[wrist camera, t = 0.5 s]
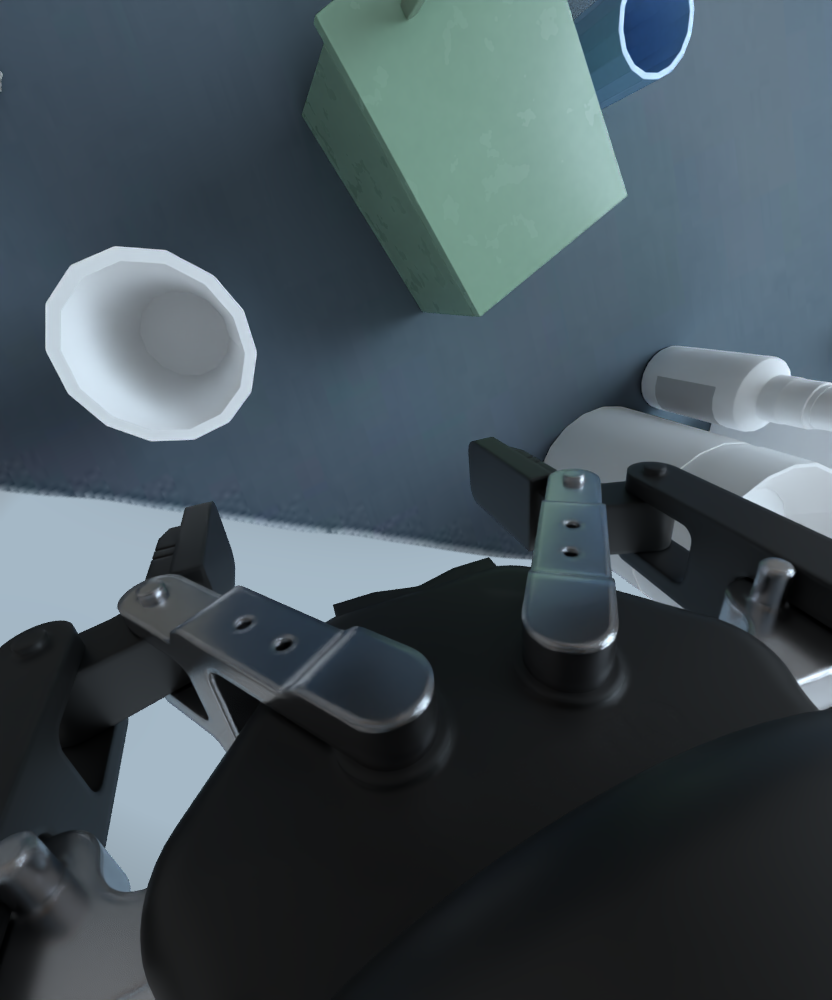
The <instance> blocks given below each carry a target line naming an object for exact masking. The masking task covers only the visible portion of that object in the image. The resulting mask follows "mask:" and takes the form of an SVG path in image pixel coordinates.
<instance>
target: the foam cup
mask: <svg viewBox="0 0 832 1000" xmlns="http://www.w3.org/2000/svg"><path fill="white" fill-rule="evenodd" d="M45 350H46V352H47V354H48V356H49V358H50V360H51V362H52V364H53V366H54V368H55V369H56V371H57V373H58V375H59V377H60V379H61V381H62V383H63V385H64V387H65V389H66V391H67V392H68V394H69V395H70V396H71V397H73V398H74V399H75V400H76V401H77V402H79V403H80V404H81V405H82V406H83V407H85V408H86V409H87V410H88V411H89V412H91V413H92V414H93V415H94V416H95V417H97V418H98V419H99V420H100V421H101V422H103V423H104V424H105V425H106V426H108V427H111V428H114V429H117V430H120V431H123V432H126V433H129V434H132V435H134V436H137V437H140V438H143V439H146V440H149V441H171V440H194V439H196V438H198V437H200V436H202V435H204V434H206V433H208V432H210V431H212V430H214V429H216V428H218V427H220V426H222V425H224V424H226V423H228V422H230V420H231V419H232V418H233V416H234V415H235V414H236V412H237V411H238V409H239V408H240V407H241V405H242V404H243V403H244V401H245V400H246V399H247V397H248V396H249V395H250V393H251V391H252V384H253V377H254V370H255V363H256V356H257V351H256V347H255V344H254V341H253V338H252V335H251V332H250V328H249V325H248V322H247V319H246V316H245V313H244V310H243V309H242V308H241V307H240V305H239V304H238V303H237V302H236V301H235V300H234V298H233V297H232V296H231V295H230V294H229V293H228V291H227V290H226V289H225V288H224V287H223V285H222V284H221V283H220V282H219V281H218V280H217V278H216V277H215V276H213V275H212V274H210V273H208V272H206V271H204V270H203V269H201V268H199V267H197V266H195V265H193V264H191V263H189V262H187V261H186V260H184V259H182V258H180V257H178V256H176V255H174V254H172V253H170V252H168V251H167V250H158V249H145V248H132V247H119V246H114V247H111V248H109V249H107V250H104V251H102V252H100V253H98V254H95V255H93V256H91V257H88V258H86V259H84V260H82V261H79V262H77V263H75V264H72V265H70V267H69V268H68V270H67V271H66V273H65V274H64V276H63V277H62V279H61V281H60V282H59V284H58V285H57V287H56V288H55V290H54V291H53V293H52V294H51V296H50V297H49V299H48V300H47V302H46V341H45Z"/></svg>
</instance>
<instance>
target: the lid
mask: <svg viewBox="0 0 832 1000" xmlns="http://www.w3.org/2000/svg"><path fill="white" fill-rule="evenodd" d="M314 26H315V27H316V29H317V31H318V33H319V35H320V36H321V38H322V40H323V42H324V44H325V45H326V47H327V49H328V51H329V53H330V55H331V56H332V58H333V60H334V62H335V64H336V65H337V67H338V69H339V71H340V73H341V74H342V76H343V78H344V80H345V82H346V84H347V85H348V87H349V89H350V91H351V93H352V94H353V96H354V98H355V100H356V102H357V104H358V105H359V107H360V109H361V111H362V113H363V114H364V116H365V118H366V120H367V122H368V123H369V125H370V127H371V129H372V131H373V133H374V134H375V136H376V138H377V140H378V142H379V143H380V145H381V147H382V149H383V151H384V152H385V154H386V156H387V158H388V160H389V162H390V163H391V165H392V167H393V169H394V171H395V172H396V174H397V176H398V178H399V180H400V181H401V183H402V185H403V187H404V189H405V191H406V192H407V194H408V196H409V198H410V200H411V201H412V203H413V205H414V207H415V209H416V211H417V212H418V214H419V216H420V218H421V220H422V221H423V223H424V225H425V227H426V229H427V230H428V232H429V234H430V236H431V238H432V240H433V241H434V243H435V245H436V247H437V249H438V250H439V252H440V254H441V256H442V258H443V259H444V261H445V263H446V265H447V267H448V269H449V270H450V272H451V274H452V276H453V278H454V279H455V281H456V283H457V285H458V287H459V289H460V290H461V292H462V294H463V296H464V298H465V299H466V301H467V303H468V305H469V307H470V308H471V310H472V312H473V314H474V316H476V317H481V316H482V315H483V314H484V313H485V312H487V311H488V310H489V309H490V308H492V307H493V306H494V305H495V304H496V303H498V302H499V301H500V300H501V299H502V298H504V297H505V296H506V295H507V294H509V293H510V292H511V291H512V290H513V289H515V288H516V287H517V286H518V285H520V284H521V283H522V282H523V281H524V280H526V279H527V278H528V277H529V276H531V275H532V274H533V273H534V272H535V271H537V270H538V269H539V268H540V267H541V266H543V265H544V264H545V263H546V262H548V261H549V260H550V259H551V258H552V257H554V256H555V255H556V254H557V253H559V252H560V251H561V250H562V249H563V248H565V247H566V246H567V245H568V244H569V243H571V242H572V241H573V240H574V239H576V238H577V237H578V236H579V235H580V234H582V233H583V232H584V231H585V230H587V229H588V228H589V227H590V226H591V225H593V224H594V223H595V222H596V221H597V220H599V219H600V218H601V217H602V216H604V215H605V214H606V213H607V212H608V211H610V210H611V209H612V208H613V207H615V206H616V205H617V204H618V203H619V202H621V201H622V200H623V199H624V198H625V197H627V192H626V189H625V186H624V183H623V179H622V176H621V173H620V170H619V167H618V163H617V160H616V157H615V154H614V150H613V147H612V144H611V141H610V137H609V134H608V131H607V128H606V125H605V121H604V118H603V115H602V112H601V108H600V105H599V102H598V99H597V95H596V92H595V89H594V86H593V83H592V79H591V76H590V73H589V70H588V66H587V63H586V60H585V57H584V53H583V50H582V47H581V44H580V41H579V37H578V34H577V31H576V28H575V24H574V21H573V18H572V15H571V11H570V8H569V5H568V2H567V0H333V1H332V2H331V3H329V4H328V5H327V6H326V7H324V8H323V9H322V10H321V11H320V12H318V13H317V14H316V15H315V19H314Z"/></svg>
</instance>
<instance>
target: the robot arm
mask: <svg viewBox="0 0 832 1000" xmlns="http://www.w3.org/2000/svg"><path fill="white" fill-rule="evenodd" d="M468 450H469V468H470V485H471V491H472V495H473V497H474V499H475V501H476V502H477V504H478V505H480V506H481V507H482V508H483V509H484V510H485V511H486V512H487V513H488V514H489V515H490V516H491V517H492V518H494V519H495V520H496V521H497V522H498V523H499V524H500V525H501V526H502V527H503V528H504V529H505V530H507V531H508V532H509V533H510V534H511V535H512V536H513V537H514V538H515V539H516V540H517V541H518V542H519V543H521V544H522V545H523V546H524V547H525V548H526V549H527V550H528V551H529V552H530V551H533V550H534V552H533V559H532V565H531V567H526V566H513V565H512V566H511V565H509V566H496V565H495V564H494V563H493V562H492V560H491V559H490V558H489V557H488V558H485V559H482V560H479V561H475V562H472V563H469V564H465V565H462V566H459V567H456V568H453V569H451V570H449V571H447V572H445V573H443V574H441V575H439V576H438V577H435V578H434V579H431V580H430V581H428V582H426V583H424V584H422V585H420V586H416V587H411V588H403V589H395V590H388V591H380V592H374V593H370V594H367V595H364V596H361V597H357V598H354V599H351V600H347V601H344V602H341V603H337V604H334V605H333V607H334V611H335V615H336V617H334V618H332V619H330V620H329V621H327V622H322V621H320V620H318V619H316V618H313V617H311V616H309V615H306V614H304V613H302V612H300V611H297V610H295V609H293V608H291V607H288V606H286V605H284V604H282V603H279V602H277V601H275V600H272V599H270V598H268V597H266V596H263V595H261V594H259V593H257V592H254V591H252V590H250V589H248V588H245V587H243V586H235V562H234V558H233V553H232V550H231V547H230V544H229V541H228V538H227V535H226V532H225V530H224V527H223V524H222V521H221V518H220V516H219V513H218V510H217V508H216V505H215V503H214V502H213V501H212V502H207V503H203V504H199V505H194V506H190V507H186V508H185V510H184V514H183V518H182V522H181V526H178V527H174V528H170V529H169V530H168V531H167V532H166V533H165V534H164V535H163V536H162V537H161V538H159V540H158V543H157V546H156V549H155V551H156V552H154V555H153V560H152V561H151V564H150V567H149V570H148V573H147V576H146V580H145V581H143V582H141V583H140V584H137V585H136V586H134V587H133V588H131V589H130V590H129V591H127V592H126V593H125V594H124V595H123V596H122V597H121V599H120V600H119V602H118V610H119V612H120V614H119V615H117V616H115V617H113V618H112V619H110V620H108V621H105V622H103V623H101V624H99V625H97V626H94V627H92V628H90V629H88V630H86V631H83V632H81V633H79V634H78V633H77V631H76V630H75V628H74V626H73V625H72V623H70V622H67V621H52V622H48V623H44V624H41V625H38V626H35V627H33V628H30V629H28V630H26V631H24V632H22V633H20V634H19V635H17V636H15V637H14V638H12V639H11V640H9V641H8V642H6V643H5V644H4V645H2V646H1V647H0V1000H832V539H831V538H829V537H827V536H825V535H823V534H820V533H818V532H816V531H814V530H812V529H810V528H808V527H805V526H803V525H801V524H799V523H797V522H795V521H792V520H790V519H788V518H786V517H784V516H782V515H779V514H777V513H775V512H773V511H771V510H769V509H766V508H764V507H762V506H760V505H758V504H756V503H753V502H751V501H749V500H747V499H745V498H743V497H741V496H738V495H736V494H734V493H732V492H730V491H728V490H725V489H723V488H721V487H719V486H717V485H715V484H712V483H710V482H708V481H706V480H704V479H702V478H699V477H697V476H695V475H693V474H691V473H689V472H686V471H684V470H682V469H680V468H678V467H676V466H673V465H670V464H667V463H661V462H639V463H635V464H632V465H630V466H629V467H628V468H627V474H626V481H622V482H611V483H601V481H600V477H599V476H598V475H597V474H595V473H593V472H591V471H587V470H583V469H563V470H556V469H554V468H553V467H551V466H549V465H547V464H546V463H544V462H541V461H540V460H539V459H537V458H536V457H533V456H532V455H530V454H529V453H527V452H525V451H524V450H520V449H516V448H512V447H509V446H507V445H505V444H504V443H502V442H501V441H499V440H497V439H496V438H494V437H489V438H484V439H480V440H476V441H472V442H470V444H469V449H468ZM675 520H676V521H678V522H679V523H681V524H682V525H684V526H685V527H686V528H687V530H688V531H689V533H690V536H691V546H690V551H689V550H687V549H686V548H684V547H683V546H681V545H679V544H678V543H676V542H675V541H673V540H672V534H673V528H674V522H675ZM615 554H618V555H619V556H620V558H621V559H622V560H624V561H625V562H626V563H627V564H629V565H630V566H631V567H632V568H634V569H635V570H636V571H637V572H639V573H640V574H641V575H642V576H644V577H645V578H646V579H647V580H649V581H650V582H651V583H652V584H654V585H655V586H656V587H657V588H659V589H660V590H661V591H662V592H664V593H665V594H666V595H667V596H669V597H670V598H671V599H672V600H674V601H675V602H676V603H677V604H679V605H680V606H681V607H682V608H684V609H682V608H678V607H674V606H671V605H667V604H664V603H660V602H656V601H653V600H649V599H646V598H642V597H638V596H635V595H631V594H628V593H624V592H620V591H617V590H616V587H615V580H614V579H613V578H612V574H611V573H612V572H611V561H610V555H615ZM164 697H165V698H166V700H167V701H168V702H169V703H171V704H172V705H173V706H175V707H176V708H177V709H178V710H180V711H181V712H182V713H184V714H185V715H186V716H188V717H189V718H190V719H191V720H193V721H194V722H196V723H197V724H198V725H199V726H201V727H202V728H203V729H205V730H206V731H207V732H208V733H210V734H211V735H212V736H213V737H214V738H215V739H216V740H217V741H218V742H219V743H220V744H221V746H222V747H223V748H224V750H225V751H226V754H225V755H224V757H223V758H222V760H221V762H220V763H219V764H218V766H217V767H216V769H215V770H214V772H213V773H212V775H211V776H210V778H209V779H208V780H207V782H206V783H205V785H204V786H203V788H202V789H201V791H200V792H199V794H198V795H197V797H196V798H195V800H194V801H193V803H192V804H191V806H190V807H189V808H188V810H187V812H186V813H185V814H184V816H183V817H182V819H181V820H180V822H179V823H178V825H177V826H176V828H175V829H174V831H173V833H172V834H171V836H170V838H169V839H168V841H167V842H166V844H165V845H164V848H163V850H162V852H161V854H160V856H159V858H158V860H157V862H156V864H155V867H154V870H153V872H152V875H151V878H150V881H149V883H148V887H147V888H146V889H143V890H139V891H135V892H131V891H130V883H129V880H128V878H127V876H126V874H125V873H124V872H123V870H122V869H121V868H120V867H119V865H118V864H117V863H116V862H115V860H114V859H113V858H112V857H111V855H110V854H109V853H108V852H107V850H106V849H105V846H106V841H107V835H108V830H109V825H110V819H111V813H112V808H113V803H114V797H115V792H116V786H117V781H118V775H119V770H120V764H121V759H122V753H123V748H124V743H125V737H126V732H127V726H128V717H130V716H131V715H133V714H135V713H137V712H139V711H140V710H142V709H144V708H146V707H147V706H149V705H151V704H153V703H155V702H156V701H158V700H160V699H162V698H164Z"/></svg>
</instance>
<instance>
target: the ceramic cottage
mask: <svg viewBox="0 0 832 1000" xmlns="http://www.w3.org/2000/svg"><path fill="white" fill-rule="evenodd" d="M2 76H3V74H2V72H1V71H0V91H2V89H1V87H2V85H1V79H2Z"/></svg>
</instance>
